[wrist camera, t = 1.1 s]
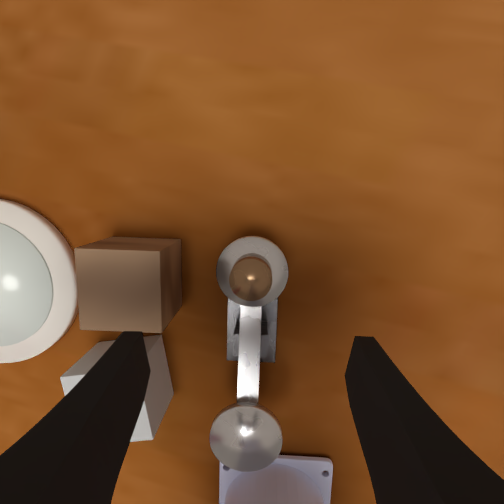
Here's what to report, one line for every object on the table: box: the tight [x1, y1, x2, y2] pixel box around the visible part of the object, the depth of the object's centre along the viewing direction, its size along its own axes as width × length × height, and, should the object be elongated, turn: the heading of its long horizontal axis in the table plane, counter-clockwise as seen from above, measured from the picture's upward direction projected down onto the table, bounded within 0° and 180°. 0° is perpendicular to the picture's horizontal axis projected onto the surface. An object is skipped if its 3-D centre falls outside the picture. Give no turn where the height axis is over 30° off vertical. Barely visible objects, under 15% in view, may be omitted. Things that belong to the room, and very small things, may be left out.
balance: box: [210, 236, 288, 472], centre depth 20 cm, size 13×4×5 cm, turn 178°
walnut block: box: [74, 237, 182, 333], centre depth 20 cm, size 4×4×4 cm
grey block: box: [60, 335, 174, 442], centre depth 21 cm, size 4×4×4 cm
